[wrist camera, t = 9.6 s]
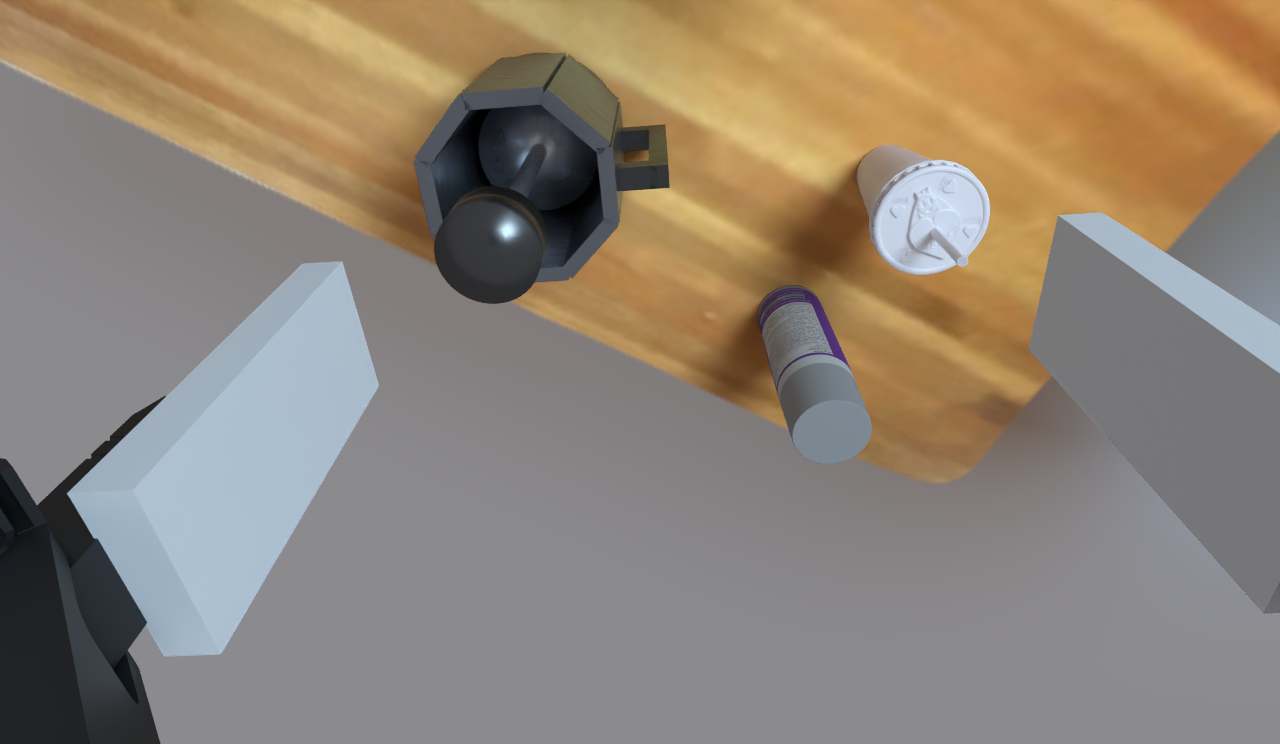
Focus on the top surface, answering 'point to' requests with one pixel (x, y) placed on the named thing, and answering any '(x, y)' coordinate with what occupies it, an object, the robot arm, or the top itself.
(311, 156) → the top surface
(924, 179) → the smoothie
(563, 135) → the plunger
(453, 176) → the mug
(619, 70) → the top surface
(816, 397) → the container
